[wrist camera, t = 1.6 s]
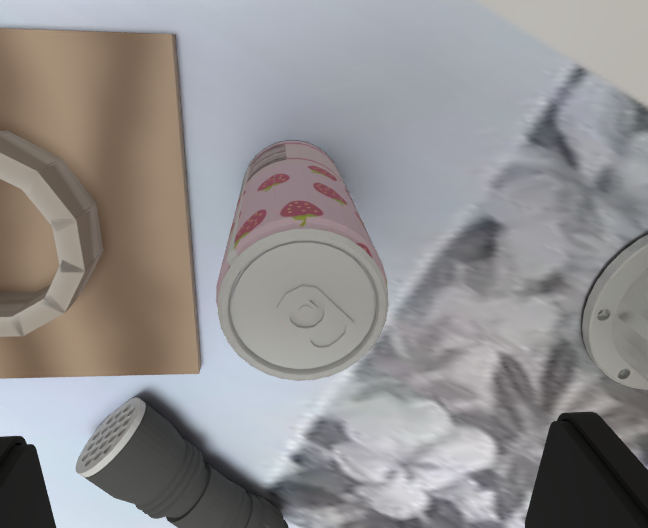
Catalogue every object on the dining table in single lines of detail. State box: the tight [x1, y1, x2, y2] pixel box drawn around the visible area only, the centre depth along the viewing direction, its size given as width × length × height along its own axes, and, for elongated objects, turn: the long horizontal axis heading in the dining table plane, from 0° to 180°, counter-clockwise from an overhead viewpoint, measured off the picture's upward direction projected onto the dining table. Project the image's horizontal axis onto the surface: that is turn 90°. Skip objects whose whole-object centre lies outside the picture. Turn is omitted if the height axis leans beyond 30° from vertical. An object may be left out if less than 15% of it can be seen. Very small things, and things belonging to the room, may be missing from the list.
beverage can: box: [216, 141, 388, 381], centre depth 22 cm, size 6×6×15 cm
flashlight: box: [76, 397, 288, 528], centre depth 35 cm, size 15×5×5 cm, turn 39°
